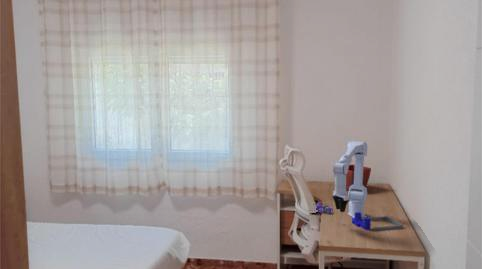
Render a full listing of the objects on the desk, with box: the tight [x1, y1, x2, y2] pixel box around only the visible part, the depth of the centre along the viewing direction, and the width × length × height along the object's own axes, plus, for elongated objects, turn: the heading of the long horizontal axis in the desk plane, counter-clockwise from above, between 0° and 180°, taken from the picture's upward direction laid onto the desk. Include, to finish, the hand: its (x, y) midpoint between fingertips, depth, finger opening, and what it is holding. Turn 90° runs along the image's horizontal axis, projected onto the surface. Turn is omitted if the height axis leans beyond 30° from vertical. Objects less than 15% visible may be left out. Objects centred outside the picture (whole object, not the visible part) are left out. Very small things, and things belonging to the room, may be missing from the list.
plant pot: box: [346, 164, 372, 192], centre depth 302 cm, size 19×19×17 cm
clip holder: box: [362, 215, 404, 231], centre depth 222 cm, size 17×16×2 cm
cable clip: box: [351, 212, 371, 231], centre depth 220 cm, size 12×4×6 cm, turn 11°
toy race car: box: [313, 200, 335, 215], centre depth 247 cm, size 10×15×6 cm, turn 85°
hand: (340, 210), depth 217 cm, fingers open, 5 cm apart
